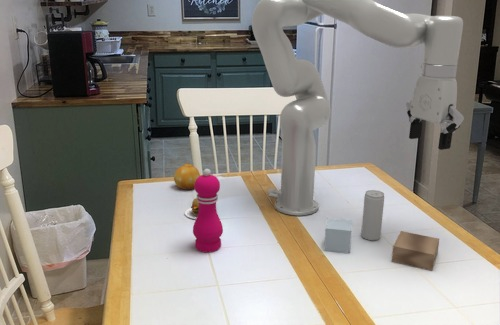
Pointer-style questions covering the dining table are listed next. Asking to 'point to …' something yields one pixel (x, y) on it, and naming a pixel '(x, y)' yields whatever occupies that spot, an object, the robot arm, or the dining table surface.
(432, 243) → the walnut block
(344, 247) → the grey-blue block
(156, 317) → the dining table surface
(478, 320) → the dining table surface
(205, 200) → the pepper mill
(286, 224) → the dining table surface
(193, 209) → the hamburger
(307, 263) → the dining table surface
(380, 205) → the beverage can
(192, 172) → the fruit
